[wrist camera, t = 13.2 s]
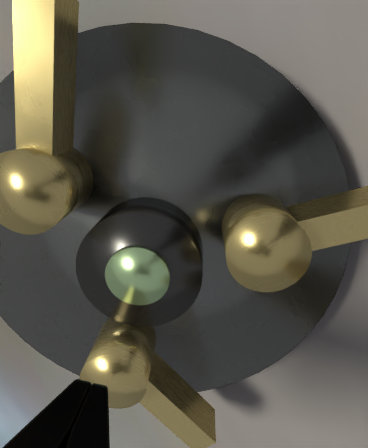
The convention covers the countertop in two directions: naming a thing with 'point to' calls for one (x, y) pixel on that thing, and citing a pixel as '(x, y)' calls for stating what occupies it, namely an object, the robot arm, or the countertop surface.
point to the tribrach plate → (198, 165)
